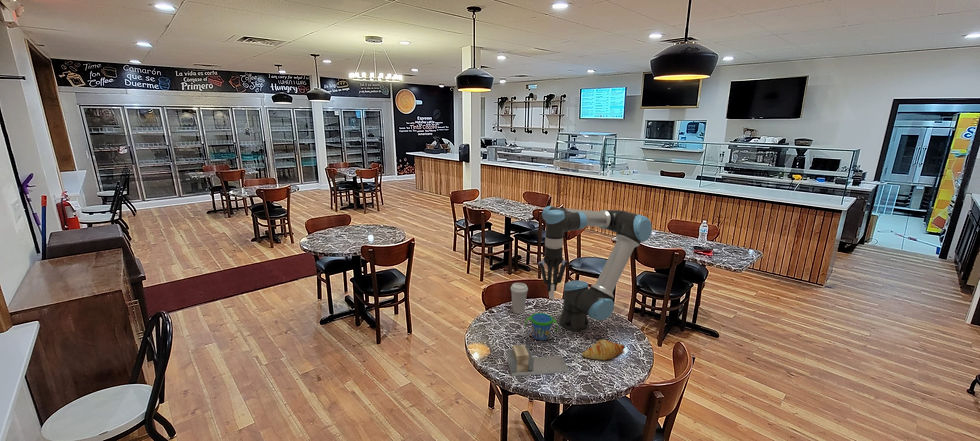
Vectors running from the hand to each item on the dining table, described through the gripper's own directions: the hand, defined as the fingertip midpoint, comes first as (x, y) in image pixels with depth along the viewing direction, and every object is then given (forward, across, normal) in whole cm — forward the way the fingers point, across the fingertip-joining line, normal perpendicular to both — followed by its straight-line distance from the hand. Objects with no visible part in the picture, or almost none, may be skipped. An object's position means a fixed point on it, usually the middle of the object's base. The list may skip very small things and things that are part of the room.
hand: (551, 297), depth 178 cm
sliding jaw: (+24, +12, +11) cm, 29 cm away
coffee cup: (+26, +5, -40) cm, 48 cm away
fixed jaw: (+24, +19, +12) cm, 33 cm away
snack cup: (+26, 0, -12) cm, 29 cm away
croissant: (+27, -24, +6) cm, 36 cm away
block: (+24, +16, +12) cm, 31 cm away
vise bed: (+26, +8, +12) cm, 30 cm away
